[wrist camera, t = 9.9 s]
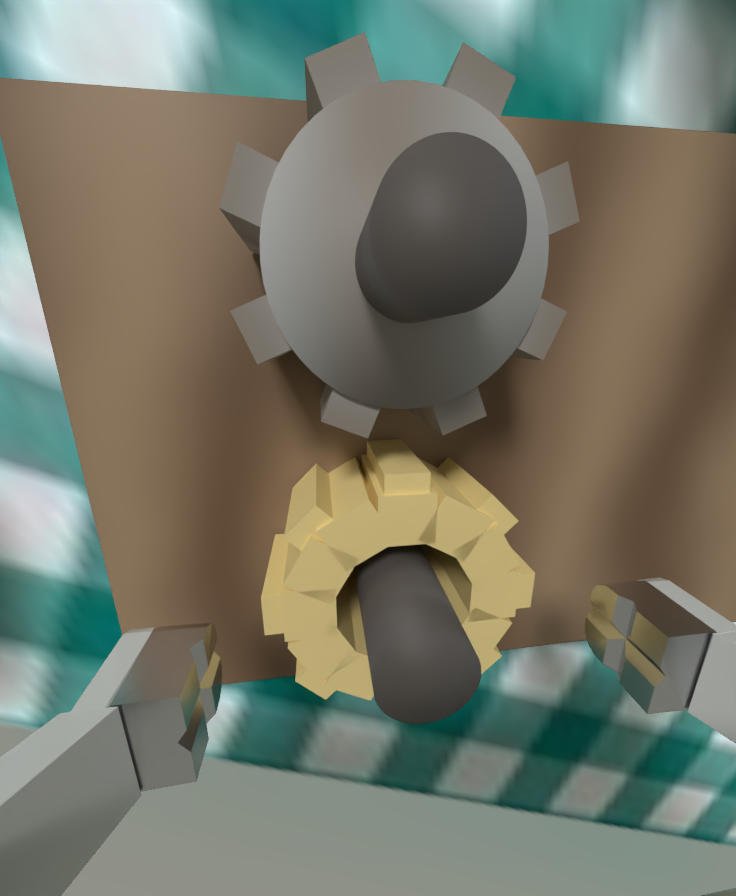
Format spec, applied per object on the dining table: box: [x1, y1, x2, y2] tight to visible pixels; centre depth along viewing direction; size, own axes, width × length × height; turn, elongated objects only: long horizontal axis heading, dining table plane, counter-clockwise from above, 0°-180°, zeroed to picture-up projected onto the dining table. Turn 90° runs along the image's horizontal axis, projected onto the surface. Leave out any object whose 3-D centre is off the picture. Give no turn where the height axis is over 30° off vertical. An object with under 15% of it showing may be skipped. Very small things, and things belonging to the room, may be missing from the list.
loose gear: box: [261, 439, 535, 700], centre depth 10 cm, size 6×6×3 cm
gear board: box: [0, 32, 736, 724], centre depth 9 cm, size 24×16×6 cm, turn 90°
